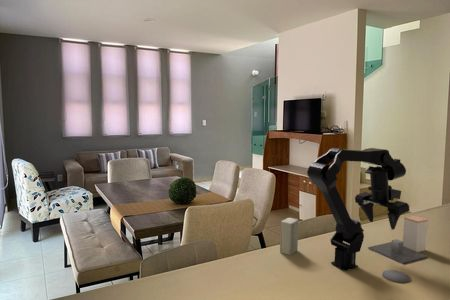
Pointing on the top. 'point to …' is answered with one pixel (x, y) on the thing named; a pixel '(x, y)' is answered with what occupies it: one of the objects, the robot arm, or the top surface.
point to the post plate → (397, 252)
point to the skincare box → (289, 236)
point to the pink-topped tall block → (415, 233)
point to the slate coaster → (396, 276)
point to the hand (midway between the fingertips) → (382, 225)
